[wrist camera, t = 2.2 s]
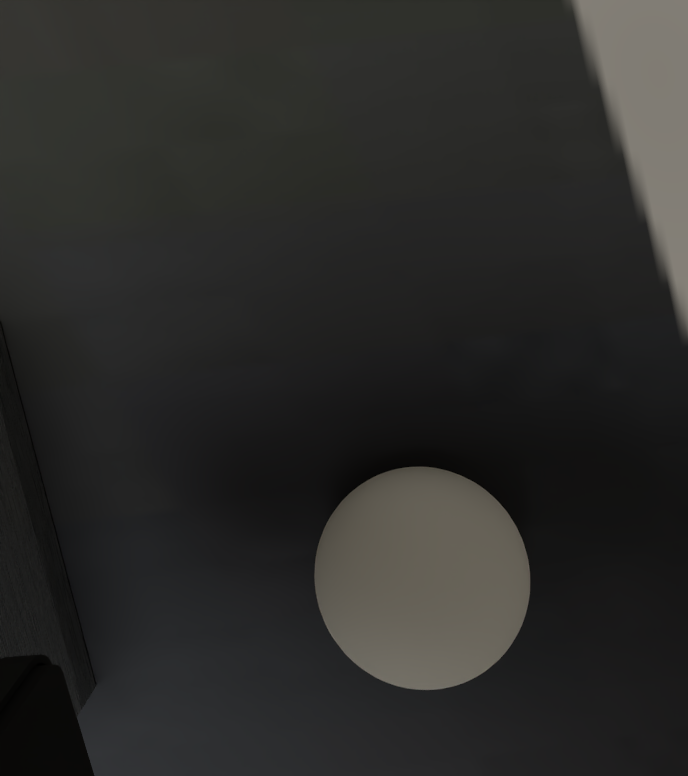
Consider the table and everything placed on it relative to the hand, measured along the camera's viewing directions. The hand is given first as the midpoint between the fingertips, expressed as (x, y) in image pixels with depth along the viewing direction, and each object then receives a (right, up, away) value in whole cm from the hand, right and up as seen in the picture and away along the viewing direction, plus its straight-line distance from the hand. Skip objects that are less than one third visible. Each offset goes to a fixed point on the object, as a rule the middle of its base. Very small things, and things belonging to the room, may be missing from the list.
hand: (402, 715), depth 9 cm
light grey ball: (+1, +1, +7) cm, 7 cm away
